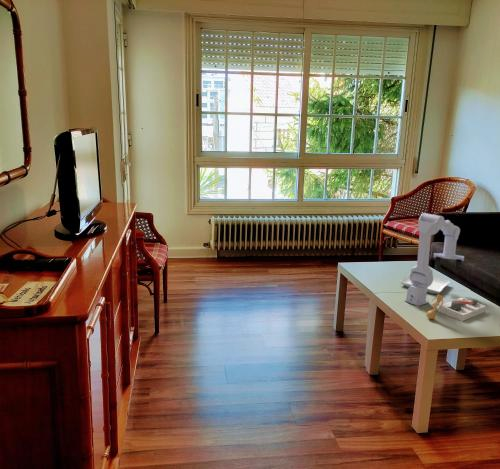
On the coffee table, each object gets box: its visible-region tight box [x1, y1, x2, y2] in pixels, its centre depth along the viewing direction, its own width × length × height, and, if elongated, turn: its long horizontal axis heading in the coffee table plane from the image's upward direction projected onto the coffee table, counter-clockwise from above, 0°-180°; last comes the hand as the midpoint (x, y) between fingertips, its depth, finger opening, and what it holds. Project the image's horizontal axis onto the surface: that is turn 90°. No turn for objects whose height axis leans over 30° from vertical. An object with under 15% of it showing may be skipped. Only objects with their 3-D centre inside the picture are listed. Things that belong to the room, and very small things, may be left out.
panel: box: [437, 297, 487, 322], centre depth 214 cm, size 20×12×4 cm, turn 126°
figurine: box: [426, 293, 444, 320], centre depth 203 cm, size 8×6×12 cm
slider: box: [470, 298, 478, 305], centre depth 215 cm, size 2×2×2 cm
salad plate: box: [399, 273, 451, 295], centre depth 246 cm, size 21×21×3 cm
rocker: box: [454, 298, 473, 305], centre depth 213 cm, size 3×8×1 cm, turn 37°
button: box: [451, 300, 462, 311], centre depth 210 cm, size 4×4×3 cm
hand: (447, 271), depth 240 cm, fingers open, 7 cm apart
